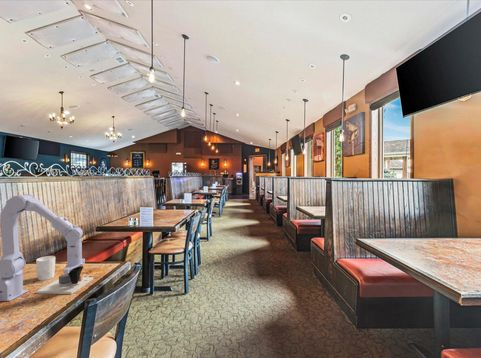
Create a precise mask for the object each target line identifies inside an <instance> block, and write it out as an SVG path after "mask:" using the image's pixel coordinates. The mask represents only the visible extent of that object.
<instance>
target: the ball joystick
mask: <svg viewBox="0 0 481 358" xmlns="http://www.w3.org/2000/svg"><path fill="white" fill-rule="evenodd" d="M82 277H83V275H82V274H80V277H79V281H78V282H81V281H82V280H83V278H82ZM58 279H59V283H60V284H66V283H70V282H71V279H70V277H69V275H68V274H61V275H59V276H58Z"/></svg>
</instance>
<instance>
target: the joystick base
mask: <svg viewBox="0 0 481 358" xmlns="http://www.w3.org/2000/svg"><path fill="white" fill-rule="evenodd" d="M82 278H83V280H82V281H81V282H78V283H77V284H72V283H71V282H70V283H66V284H60V283H59V278H57V279H56V280H53V281H52V282H50V283H48V284H47V285H45V286H43V287H42V288H39V289H38V290H36V292H35V293H36V294H39V295H43V294H44V295H45V294H46V295H47V294H49V295H50V294H51V295H72V294H74V293H75V292H77V291H78V290H80V289H81V288H82V287H84V286H85V285H87V284H88V283H90V282H92V281H93V280H94V277H93V276H86V277H85V276H82Z"/></svg>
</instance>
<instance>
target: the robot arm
mask: <svg viewBox="0 0 481 358" xmlns="http://www.w3.org/2000/svg"><path fill="white" fill-rule="evenodd" d="M24 211H25V212H34V213H36V214H38V215H40V216H41V217H42V218H44V219H45V220H47V221H48V222H50V223H51V224H50V225H51V227H52V228H53V229H54V230H55V231H56V232H58V233H60V234H61V235H62V236H63V237H64V239H65V241H66V244H67V245H66V249H67V250H66V252H67V253H66V256H67V257H66V258H67V259H66V261H67V264H66V266H65V268H64V269H63V272H62V273H63V274H62V275H64V274H68V275H69V277H70V279H71V283H72V284H77V283H78V281H79V277H80V275H82V274H81V273H82V271H83V269H84V265H86V263H85V262H86V259H85V258H83V244H82V243H83V242H82V237H83V235H84V230H83V228H81V227H80V226H77V225H76V224H73V223H71V222H70V221H69V220H68V218H67V217H66V216H65V217H64V216H58V215H57V214H56V213H54V212H53V211H52V210H51V209H49V207H47V206H46V205H45V204H44V203H42V202H41V200H40V199H38V198H37V197H35V196H34V195H33V194H30V193H25V194H22V195H14V196H12V197H10V198H9V199H7V200H6V201H5V205H4V206H3V208H2V210H1V212H0V225H1V227H0V228H1V240H2V241H1V242H2V244H1V245H2V256H1V258H0V302H11V301H13V300H14V299H16V298H18V297H20V296H22V295H24V294H26V293H28V292H29V289H24V271H23V269H24V268H25V267H26V263H27V262H26V260H25V258H24V256H23V255H24V254H23V252H21V251H20V240H19V239H20V238H19V223H18V216H19V215H20V214H22V213H24Z"/></svg>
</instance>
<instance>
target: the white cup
mask: <svg viewBox="0 0 481 358" xmlns="http://www.w3.org/2000/svg"><path fill="white" fill-rule="evenodd" d="M35 262H36V273H37V280H38V281H47V280H50V279H53V278H54V277H55V273H56V272H55V271H56V256H55V255H47V256H46V255H45V256H41V257H39V258H37V259H35Z"/></svg>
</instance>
